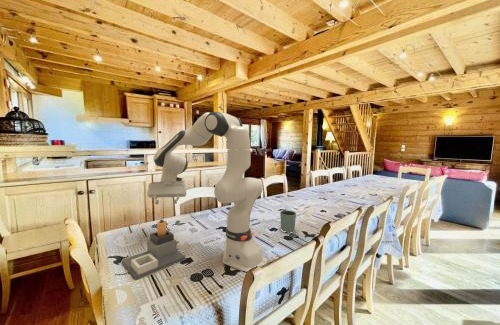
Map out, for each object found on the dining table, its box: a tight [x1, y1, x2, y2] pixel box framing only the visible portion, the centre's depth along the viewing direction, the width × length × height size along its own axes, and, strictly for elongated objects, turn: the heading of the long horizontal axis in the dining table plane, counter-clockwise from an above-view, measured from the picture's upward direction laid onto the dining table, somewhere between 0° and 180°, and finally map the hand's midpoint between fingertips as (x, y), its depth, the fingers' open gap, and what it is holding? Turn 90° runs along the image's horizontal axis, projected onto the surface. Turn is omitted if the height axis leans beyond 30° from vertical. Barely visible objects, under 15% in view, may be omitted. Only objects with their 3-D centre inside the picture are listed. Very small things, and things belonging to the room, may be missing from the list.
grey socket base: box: [121, 229, 186, 281], centre depth 99 cm, size 17×22×10 cm
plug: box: [156, 219, 167, 238], centre depth 104 cm, size 4×4×10 cm
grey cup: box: [280, 209, 297, 233], centre depth 139 cm, size 10×10×12 cm
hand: (166, 203), depth 115 cm, fingers open, 8 cm apart
